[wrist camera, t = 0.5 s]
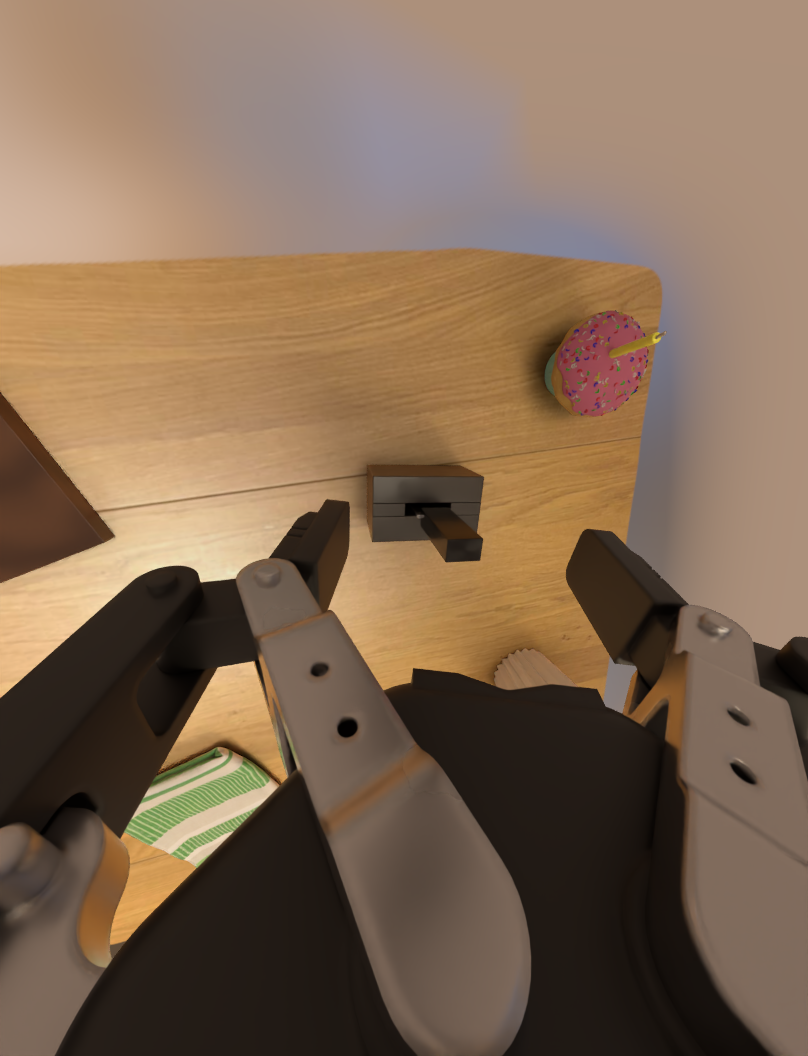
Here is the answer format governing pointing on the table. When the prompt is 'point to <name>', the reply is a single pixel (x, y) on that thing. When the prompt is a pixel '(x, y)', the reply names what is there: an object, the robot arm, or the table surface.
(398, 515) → the knife block
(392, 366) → the table surface
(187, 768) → the dish towel
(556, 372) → the cupcake
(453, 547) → the knife
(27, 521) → the cutting board
